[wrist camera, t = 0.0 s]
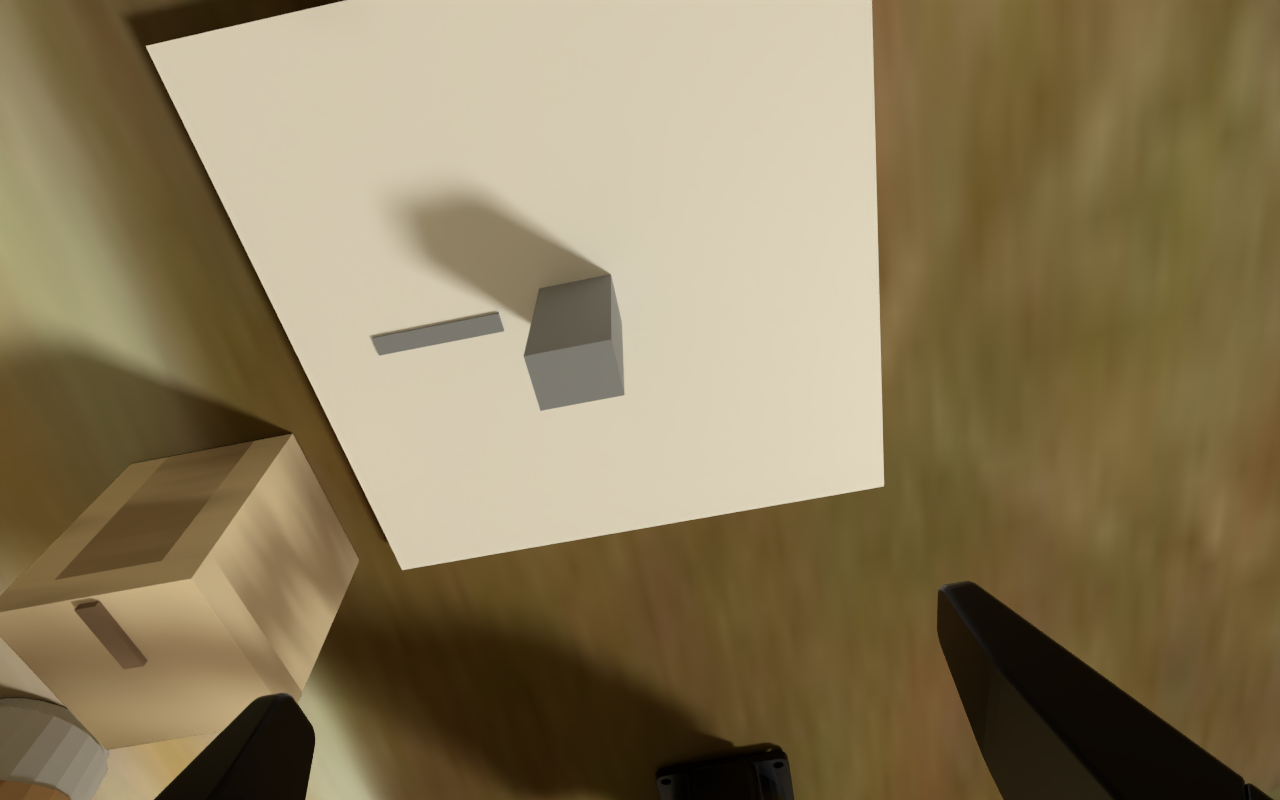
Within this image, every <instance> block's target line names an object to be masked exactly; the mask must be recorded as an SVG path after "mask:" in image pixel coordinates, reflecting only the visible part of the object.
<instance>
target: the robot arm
mask: <svg viewBox="0 0 1280 800" xmlns="http://www.w3.org/2000/svg"><path fill="white" fill-rule="evenodd" d="M937 632H938V637H939V641H940V645H941V648H942V650H943V653H944V656H945V658H946V661H947V664H948V666H949V669H950V672H951V674H952V677H953V680H954V682H955V685H956V688H957V690H958V693H959V695H960V698H961V701H962V703H963V706H964V709H965V711H966V714H967V717H968V719H969V722H970V725H971V727H972V730H973V733H974V735H975V738H976V741H977V743H978V746H979V748H980V751H981V753H982V756H983V758H984V760H985V762H986V764H987V767H988V769H989V771H990V773H991V775H992V777H993V779H994V781H995V783H996V785H997V787H998V789H999V791H1000V793H1001V795H1002V797H1003V799H1004V800H1273V799H1272V798H1270V797H1269V796H1268V795H1266V794H1265V793H1264V792H1262V791H1261V790H1260V789H1258V788H1257V787H1255V786H1254V785H1253V784H1250V783H1248V784H1246V785H1245V781H1244V779H1243V778H1242V777H1241V776H1240V775H1239V774H1237V773H1236V772H1234V771H1233V770H1232V769H1230V768H1229V767H1227V766H1226V765H1225V764H1223V763H1222V762H1221V761H1219V760H1218V759H1216V758H1215V757H1214V756H1212V755H1211V754H1210V753H1208V752H1207V751H1205V750H1204V749H1203V748H1201V747H1200V746H1199V745H1197V744H1196V743H1194V742H1193V741H1192V740H1190V739H1189V738H1188V737H1186V736H1185V735H1183V734H1182V733H1181V732H1179V731H1178V730H1177V729H1175V728H1174V727H1172V726H1171V725H1170V724H1168V723H1167V722H1166V721H1164V720H1163V719H1161V718H1160V717H1159V716H1157V715H1156V714H1155V713H1153V712H1152V711H1150V710H1149V709H1148V708H1146V707H1145V706H1144V705H1142V704H1141V703H1139V702H1138V701H1137V700H1135V699H1134V698H1132V697H1131V696H1130V695H1128V694H1127V693H1126V692H1124V691H1123V690H1121V689H1120V688H1119V687H1117V686H1116V685H1115V684H1113V683H1112V682H1110V681H1109V680H1108V679H1106V678H1105V677H1104V676H1102V675H1101V674H1099V673H1098V672H1097V671H1095V670H1094V669H1093V668H1091V667H1090V666H1088V665H1087V664H1086V663H1084V662H1083V661H1082V660H1080V659H1079V658H1077V657H1076V656H1075V655H1073V654H1072V653H1071V652H1069V651H1068V650H1066V649H1065V648H1064V647H1062V646H1061V645H1060V644H1058V643H1057V642H1055V641H1054V640H1053V639H1051V638H1050V637H1049V636H1047V635H1046V634H1044V633H1043V632H1042V631H1040V630H1039V629H1037V628H1036V627H1035V626H1033V625H1032V624H1031V623H1029V622H1028V621H1026V620H1025V619H1024V618H1022V617H1021V616H1020V615H1018V614H1017V613H1015V612H1014V611H1013V610H1011V609H1010V608H1009V607H1007V606H1006V605H1004V604H1003V603H1002V602H1000V601H999V600H998V599H996V598H995V597H993V596H992V595H991V594H989V593H988V592H987V591H985V590H984V589H982V588H981V587H980V586H978V585H977V584H975V583H973V582H970V581H964V582H958V583H951V584H945V585H942V586H941V587H940V588H939V591H938V610H937ZM314 747H315V733H314V729H313V727H312V725H311V723H310V722H309V720H308V719H307V717H306V716H305V714H304V713H303V711H302V710H301V708H300V707H299V705H298V704H297V702H296V701H295V699H294V698H293V697H292V696H291V695H290V694H288V693H277V694H271V695H264V696H261V697H258V698H256V699H255V700H254V701H252V702H251V703H250V704H249V705H248V706H247V707H246V708H245V709H244V710H243V711H242V712H241V713H240V714H239V715H238V716H237V717H236V718H235V719H234V720H233V721H232V722H231V723H230V724H229V725H228V726H227V727H226V728H225V729H224V730H223V731H222V732H221V733H220V734H219V735H218V736H217V737H216V738H215V739H214V740H213V741H212V742H211V743H210V744H209V745H208V746H207V747H206V748H205V749H204V750H203V751H202V752H201V753H200V754H199V755H198V756H197V757H196V758H195V759H194V760H193V761H192V762H191V763H190V764H189V765H188V766H187V767H186V768H185V769H184V770H183V771H182V772H181V773H180V774H179V775H178V776H177V777H176V778H175V779H174V780H173V781H172V782H171V783H170V784H169V785H168V786H167V787H166V788H165V789H164V790H163V791H162V792H161V793H160V794H159V795H158V796H157V797H156V798H155V799H154V800H305V798H306V792H307V786H308V781H309V775H310V770H311V764H312V758H313V753H314ZM656 785H657V788H658V791H659V794H660V798H661V800H794V795H793V788H792V781H791V774H790V768H789V762H788V757H787V754H786V753H785V752H782V751H773V752H767V753H760V754H754V755H747V756H740V757H734V758H727V759H721V760H714V761H707V762H701V763H694V764H688V765H681V766H674V767H668V768H662V769H660V770H658V771H657V772H656Z"/></svg>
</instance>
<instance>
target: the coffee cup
mask: <svg viewBox="0 0 1280 800" xmlns="http://www.w3.org/2000/svg"><path fill="white" fill-rule="evenodd" d="M108 755H109V750H106V749H105V748H104V747H103V746H102V745H101V744H100V743H99V742H98V740H97V739H96V738H95V737H94V736H93V735H92V734H91V733H90V732H89V731H88V730H87V729H86V728H85V727H84V725H83V724H82V723H81V722H80V721H79V720H78V719H77V718H76V717H75V716H74V715H73V714H72V713H71V712H70V711H69V710H68V709H66V708H64V707H61V706H58V705H55V704H51V703H48V702H44V701H39V700H33V699H26V698H4V699H0V800H92V798H93V796H94V795H95V793H96V791H97V789H98V787H99V786H100V784H101V782H102V780H103V778H104V776H105V774H106V772H107V769H108V767H107V758H108Z"/></svg>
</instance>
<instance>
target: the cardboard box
mask: <svg viewBox="0 0 1280 800" xmlns="http://www.w3.org/2000/svg"><path fill="white" fill-rule="evenodd" d="M358 562H359V559H358V557H357V555H356V553H355V551H354V549H353V547H352V545H351V544H350V542H349V540H348V538H347V536H346V534H345V532H344V530H343V528H342V526H341V525H340V523H339V521H338V519H337V517H336V515H335V513H334V511H333V509H332V507H331V506H330V504H329V502H328V500H327V498H326V496H325V494H324V492H323V490H322V488H321V487H320V485H319V483H318V481H317V479H316V477H315V475H314V473H313V471H312V469H311V468H310V466H309V464H308V462H307V460H306V458H305V456H304V454H303V452H302V450H301V449H300V447H299V445H298V443H297V441H296V439H295V437H294V435H293V434H288V435H283V436H277V437H272V438H267V439H261V440H256V441H251V442H245V443H240V444H235V445H230V446H224V447H219V448H214V449H208V450H203V451H198V452H192V453H187V454H182V455H177V456H171V457H166V458H161V459H155V460H150V461H145V462H139V463H134V464H130V465H129V466H128V467H127V468H126V469H125V471H124V472H123V473H122V474H121V475H120V476H119V477H118V478H117V479H116V480H115V481H114V482H113V483H112V484H111V485H110V486H109V487H108V488H107V489H106V490H105V491H104V492H103V493H102V494H101V495H100V496H99V497H98V498H97V499H96V500H95V501H94V502H93V503H92V504H91V505H90V506H89V507H88V508H87V509H86V510H85V511H84V512H83V513H82V514H81V515H80V516H79V517H78V518H77V519H76V520H75V521H74V522H73V523H72V524H71V525H70V526H69V527H68V528H67V529H66V530H65V531H64V532H63V533H62V534H61V535H60V536H59V537H58V538H57V539H56V540H55V541H54V542H53V543H52V544H51V545H50V546H49V547H48V548H47V549H46V550H45V551H44V552H43V553H42V554H41V555H40V556H39V557H38V558H37V559H36V560H35V561H34V562H33V563H32V564H31V565H30V567H29V568H28V569H27V570H26V571H25V572H24V573H23V574H22V575H21V576H20V577H19V578H18V579H17V580H16V581H15V582H14V583H13V584H12V585H11V586H10V587H9V588H8V589H7V590H6V591H5V592H4V593H3V594H2V595H1V596H0V637H1V638H2V639H3V640H4V641H5V642H6V643H7V644H8V645H9V646H10V647H11V649H12V650H13V651H14V652H15V653H16V654H17V655H18V656H19V657H20V658H21V659H22V660H23V661H24V662H25V664H26V665H27V666H28V667H29V668H30V669H31V670H32V671H33V672H34V673H35V674H36V675H37V676H38V677H39V678H40V680H41V681H42V682H43V683H44V684H45V685H46V686H47V687H48V688H49V689H50V690H51V691H52V692H53V693H54V694H55V696H56V697H57V698H58V699H59V700H60V701H61V702H62V703H63V704H64V705H65V706H66V707H67V708H68V709H69V711H70V712H71V713H72V714H73V715H74V716H75V717H76V718H77V719H78V720H79V721H80V722H81V723H82V724H83V725H84V727H85V728H86V729H87V730H88V731H89V732H90V733H91V734H92V735H93V736H94V737H95V738H96V739H97V740H98V742H99V743H100V744H101V745H102V746H103V747H104V748H105V749H106V750H110V749H116V748H122V747H128V746H135V745H141V744H147V743H153V742H159V741H166V740H172V739H178V738H184V737H190V736H197V735H203V734H209V733H215V732H221V731H223V730H224V729H225V728H226V727H227V726H228V725H229V724H230V723H231V722H232V721H233V720H234V719H235V718H236V717H237V716H238V715H239V714H240V713H241V712H242V711H243V710H244V709H245V708H246V707H247V706H248V705H249V704H250V703H251V702H252V701H254V700H255V699H256V698H258V697H261V696H264V695H271V694H277V693H288V694H290V695H291V696H292V697H293V698H294V699H295V701H296V702H297V704H298V701H299V699H300V697H301V694H302V692H303V690H304V687H305V685H306V683H307V680H308V678H309V676H310V673H311V671H312V669H313V666H314V664H315V662H316V660H317V657H318V655H319V653H320V650H321V648H322V646H323V643H324V641H325V639H326V636H327V634H328V632H329V629H330V627H331V625H332V622H333V620H334V618H335V616H336V613H337V611H338V609H339V606H340V604H341V602H342V599H343V597H344V595H345V592H346V590H347V588H348V585H349V583H350V581H351V578H352V576H353V574H354V571H355V569H356V567H357V565H358Z"/></svg>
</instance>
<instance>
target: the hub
mask: <svg viewBox="0 0 1280 800" xmlns="http://www.w3.org/2000/svg"><path fill="white" fill-rule="evenodd" d="M146 48H147V50H148V52H149V54H150V56H151V58H152V60H153V62H154V64H155V66H156V69H157V71H158V73H159V75H160V77H161V79H162V81H163V83H164V85H165V87H166V89H167V91H168V93H169V95H170V97H171V99H172V101H173V103H174V105H175V107H176V109H177V111H178V113H179V115H180V118H181V120H182V122H183V124H184V126H185V128H186V130H187V132H188V134H189V136H190V138H191V140H192V142H193V144H194V146H195V148H196V150H197V152H198V154H199V156H200V158H201V160H202V162H203V164H204V166H205V169H206V171H207V173H208V175H209V177H210V179H211V181H212V183H213V185H214V187H215V189H216V191H217V193H218V195H219V197H220V199H221V201H222V203H223V205H224V207H225V209H226V211H227V213H228V215H229V218H230V220H231V222H232V224H233V226H234V228H235V230H236V232H237V234H238V236H239V238H240V240H241V242H242V244H243V246H244V248H245V250H246V252H247V254H248V256H249V258H250V260H251V262H252V264H253V266H254V269H255V271H256V273H257V275H258V277H259V279H260V281H261V283H262V285H263V287H264V289H265V291H266V293H267V295H268V297H269V299H270V301H271V303H272V305H273V307H274V309H275V311H276V313H277V315H278V318H279V320H280V322H281V324H282V326H283V328H284V330H285V332H286V334H287V336H288V338H289V340H290V342H291V344H292V346H293V348H294V350H295V352H296V354H297V356H298V358H299V360H300V362H301V364H302V367H303V369H304V371H305V373H306V375H307V377H308V379H309V381H310V383H311V385H312V387H313V389H314V391H315V393H316V395H317V397H318V399H319V401H320V403H321V405H322V407H323V409H324V411H325V413H326V415H327V418H328V420H329V422H330V424H331V426H332V428H333V430H334V432H335V434H336V436H337V438H338V440H339V442H340V444H341V446H342V448H343V450H344V452H345V454H346V456H347V458H348V460H349V462H350V464H351V467H352V469H353V471H354V473H355V475H356V477H357V479H358V481H359V483H360V485H361V487H362V489H363V491H364V493H365V495H366V497H367V499H368V501H369V503H370V505H371V507H372V509H373V511H374V513H375V515H376V518H377V520H378V522H379V524H380V526H381V528H382V530H383V532H384V534H385V536H386V538H387V540H388V542H389V544H390V546H391V548H392V550H393V552H394V554H395V556H396V558H397V560H398V562H399V564H400V567H401V569H402V570H406V569H411V568H417V567H423V566H429V565H434V564H440V563H446V562H452V561H457V560H463V559H469V558H475V557H480V556H486V555H492V554H498V553H503V552H509V551H515V550H521V549H526V548H532V547H538V546H544V545H549V544H555V543H561V542H567V541H572V540H578V539H584V538H590V537H595V536H601V535H607V534H613V533H618V532H624V531H630V530H636V529H641V528H647V527H653V526H659V525H664V524H670V523H676V522H682V521H687V520H693V519H699V518H705V517H710V516H716V515H722V514H728V513H733V512H739V511H745V510H751V509H756V508H762V507H768V506H774V505H779V504H785V503H791V502H797V501H802V500H808V499H814V498H820V497H825V496H831V495H837V494H843V493H848V492H854V491H860V490H866V489H871V488H877V487H883V486H884V464H883V425H882V385H881V345H880V306H879V266H878V226H877V187H876V147H875V107H874V68H873V28H872V0H345V1H340V2H336V3H331V4H327V5H323V6H318V7H314V8H310V9H305V10H301V11H296V12H292V13H288V14H283V15H279V16H275V17H270V18H266V19H261V20H257V21H253V22H248V23H244V24H240V25H235V26H231V27H226V28H222V29H218V30H213V31H209V32H205V33H200V34H196V35H191V36H187V37H183V38H178V39H174V40H170V41H165V42H161V43H157V44H152V45H148V46H146Z"/></svg>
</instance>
